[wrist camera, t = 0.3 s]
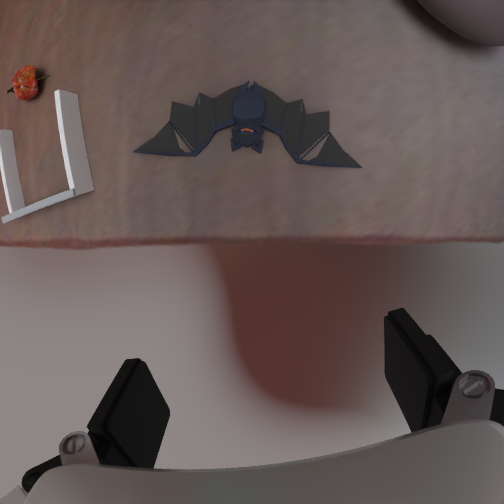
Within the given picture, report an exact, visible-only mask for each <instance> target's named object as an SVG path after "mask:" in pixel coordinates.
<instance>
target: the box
mask: <svg viewBox="0 0 504 504" xmlns="http://www.w3.org/2000/svg"><path fill="white" fill-rule="evenodd" d="M55 101H56V110H57V118H58V126H59V133H60V139H61V146H62V152H63V157H64V163H65V168H66V173H67V178H68V183H69V187H70V190H67V191H65V192H62V193H59V194H57V195H54V196H51V197H49V198H46V199H44V200H41V201H39V202H36V203H34V204H31V205H29V206H27V207H25V203H24V199H23V194H22V190H21V185H20V179H19V174H18V168H17V162H16V156H15V149H14V141H13V133H12V130H0V167H1V174H2V179H3V185H4V190H5V195H6V200H7V204H8V209H9V213H10V214H8V215H6V216H4V217H2V221H3V223H6V222H8V221H11V220H13V219H16V218H18V217H21V216H24V215H27V214H29V213H32V212H34V211H37V210H40V209H42V208H45V207H47V206H50V205H53V204H56V203H58V202H61V201H64V200H67V199H70V198H72V197H75V196H78V195H81V194H84V193H87V192H90V191H93V190H94V187H93V182H92V178H91V173H90V168H89V163H88V158H87V153H86V147H85V142H84V136H83V130H82V123H81V116H80V109H79V101H78V94H75V93H71V92H68V91H64V90H60V89H59V90H57V91H55Z"/></svg>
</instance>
